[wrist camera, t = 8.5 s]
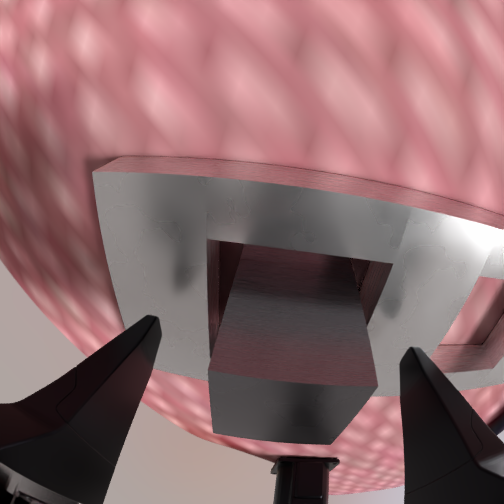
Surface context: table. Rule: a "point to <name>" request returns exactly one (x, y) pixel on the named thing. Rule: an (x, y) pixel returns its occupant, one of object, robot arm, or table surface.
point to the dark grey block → (290, 349)
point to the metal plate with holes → (301, 239)
